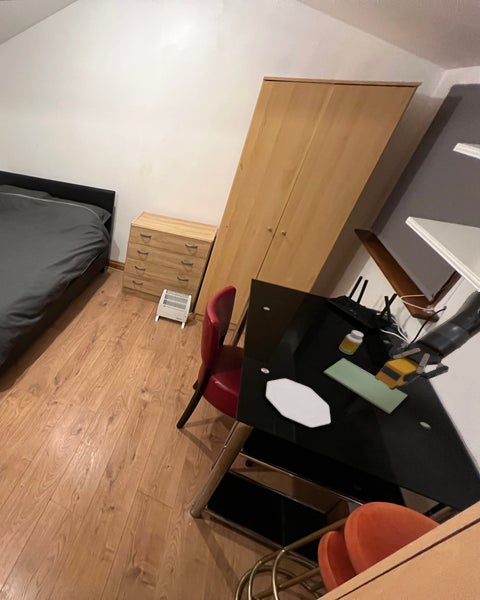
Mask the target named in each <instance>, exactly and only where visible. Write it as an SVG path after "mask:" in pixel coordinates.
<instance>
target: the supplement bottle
mask: <svg viewBox="0 0 480 600" xmlns="http://www.w3.org/2000/svg"><path fill="white" fill-rule="evenodd" d="M363 337H364V334H363V332H361V331H358V330H354V329H353V330H351V332H350V333H347V334H346V335H345V337H344V339H343V341H342V342H341V344H340V345H339V346H338V349H339V350H340V351H341V352H342V353H344V354H347V355H354V354H355V353H356V351H357V349H358V348H359V346H360V345H361V344H362V342H363Z"/></svg>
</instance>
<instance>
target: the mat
mask: <svg viewBox="0 0 480 600" xmlns="http://www.w3.org/2000/svg"><path fill="white" fill-rule="evenodd" d="M323 374H325V375H326V376H328V377H329V378H331V379H333V380H334V381H336V382H337V383H339V384H341V385H342V386H344V387H345V388H347V389H348V390H351V392H353V393H354V394H357V395H358V396H360V397H361V398H363V399H364V400H366V401H368V402H369V403H371V404H372V405H374V406H376V407H377V408H379V409H381V411H384V412H385V413H387V414H388V415H390V414H391V413H392V412H393V411H394V410H395V409H396V408H397V407H398V406H399V405H400V404H401V403H402V402H403V401H404V400H405V399H406V398H407V397H408V394H407V393H404V392H403V391H401V390H400V389H397V388H396V389H394V390H391V389H389V387H388V386H387V385H386V384H384V383H383V382H381V381H380V380H377V379H375V376H376V375H373V374H371V373H370V372H368V371H367V370H364V369H363V368H362V367H359V366H358V365H356V364H354V363H353V362H351V361H349V360H347V359H346V358H344V357H343V358H341V359H340V360H338V361H336V363H334V364H333V365H331V366H329V367H328V368H327V369H325V370H324V371H323Z"/></svg>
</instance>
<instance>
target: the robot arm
mask: <svg viewBox="0 0 480 600" xmlns="http://www.w3.org/2000/svg"><path fill="white" fill-rule="evenodd" d="M477 290H478V289H477ZM477 290H475V291H473V292H472V293H471V294H470V295H468V296H467V298H465V301H464V302H463V303H462V305H461V306H460V308H459V309H458V310H457V311H456V312H455V314H453V315H452V316H450V317H449V318H448V319H447V320H445V321H443V322H442V323H441V324H438V325H437V326H435V327H434V328H433V329H430V331H428V332H427V333H425V334H424V335H423V336H421V337H420V338H418V339H417V340H416V341H414V342H410V343H409V342H406V341H404V340H403V339H402V338H399V339H398V340H397V341H395V343H394V345H392V347H391V348H390V350H388V355H389V357H390V358H389V359H388V360H386V361H385V362H384V364H383V366H384V365H385V364H386V363H387V362H390V361H393V360H397V359H400V358H404V359H410V360H412V361H414V362H416V363H417V364H418V365H419V367H418V369H417V370H416V372H412V373H411V374H410V375H408V376H407V377H406V378H404V379H403V381H404V382H405V383H406V382H410V383H412V382H413V381H415V380H416V379H418V378H423V379H425V380H431V379H433V378H436V377H438V376H441V375H443V374H446V373H448V372H449V369H450V367H449V366H448V365H445V364H444V363H443V362H442V361H443V359H446V358H447V357H448V356H449V355H451V354H452V353H453V352H455V351H456V350H458V349H460V348H461V347H462V346H463V345H465V344H466V343H467V342H468V341H470V340H471V339H472V338H474V337H475V336H476V335H478V334H479V333H480V292H478V291H477ZM404 348H407V350H406V351H403V352H401V353H398V352H399V351H400V349H404ZM397 353H398V354H397ZM427 366H435V368H434V369H432V370H430V371H427V372H425V370H426V368H427Z"/></svg>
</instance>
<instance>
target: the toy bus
mask: <svg viewBox="0 0 480 600" xmlns="http://www.w3.org/2000/svg"><path fill="white" fill-rule="evenodd" d="M386 362H387V361H386ZM418 367H419V365H418V364H417V363H416V362H414V361H412V360H410V359H404V358H400V359H397V360H393V361H390V362H387V363H386V364H385V365H384V364H383V367H381V369H380V370H379V371H378V372H377V374H376V375H374V376H375V379H377V380H380V381H381V382H383V383H384V384H386V385H387V386H388V387H389V389H391V390H394V389H397V388H398V387H400V386H404V387H406V386H409V384H411V382H406V383H405V382H404V381H403V379H404V378H406V377H407V376H408V375H410V374H411V373H412V372H416V370H417V369H418Z"/></svg>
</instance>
